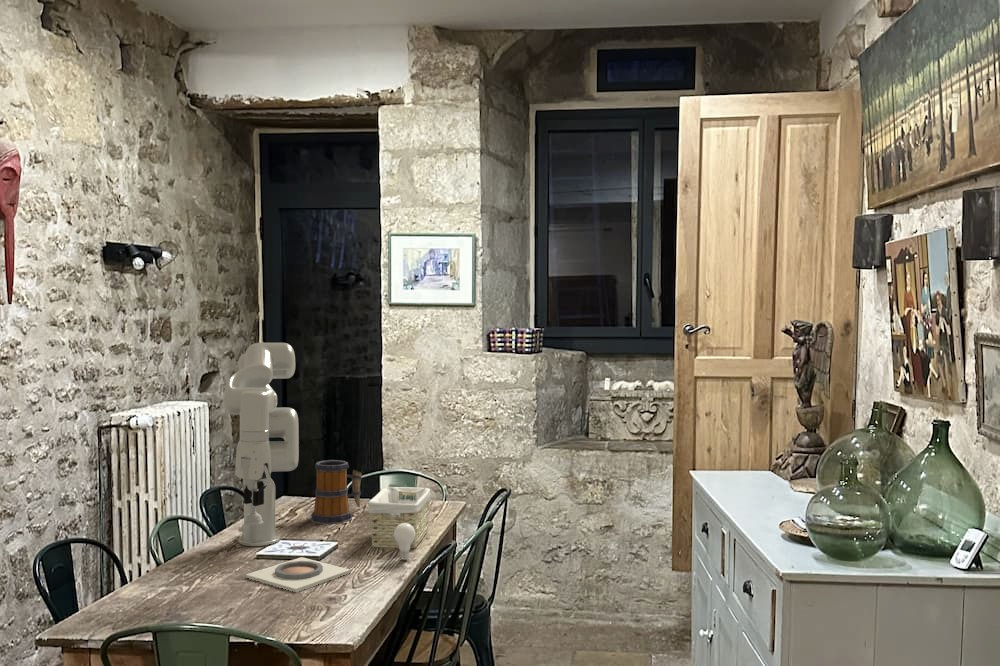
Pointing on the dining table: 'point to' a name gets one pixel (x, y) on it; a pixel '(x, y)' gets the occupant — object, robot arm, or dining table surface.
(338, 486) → the mug
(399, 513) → the storage basket
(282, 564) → the seat board
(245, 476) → the chalice
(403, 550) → the lightbulb
